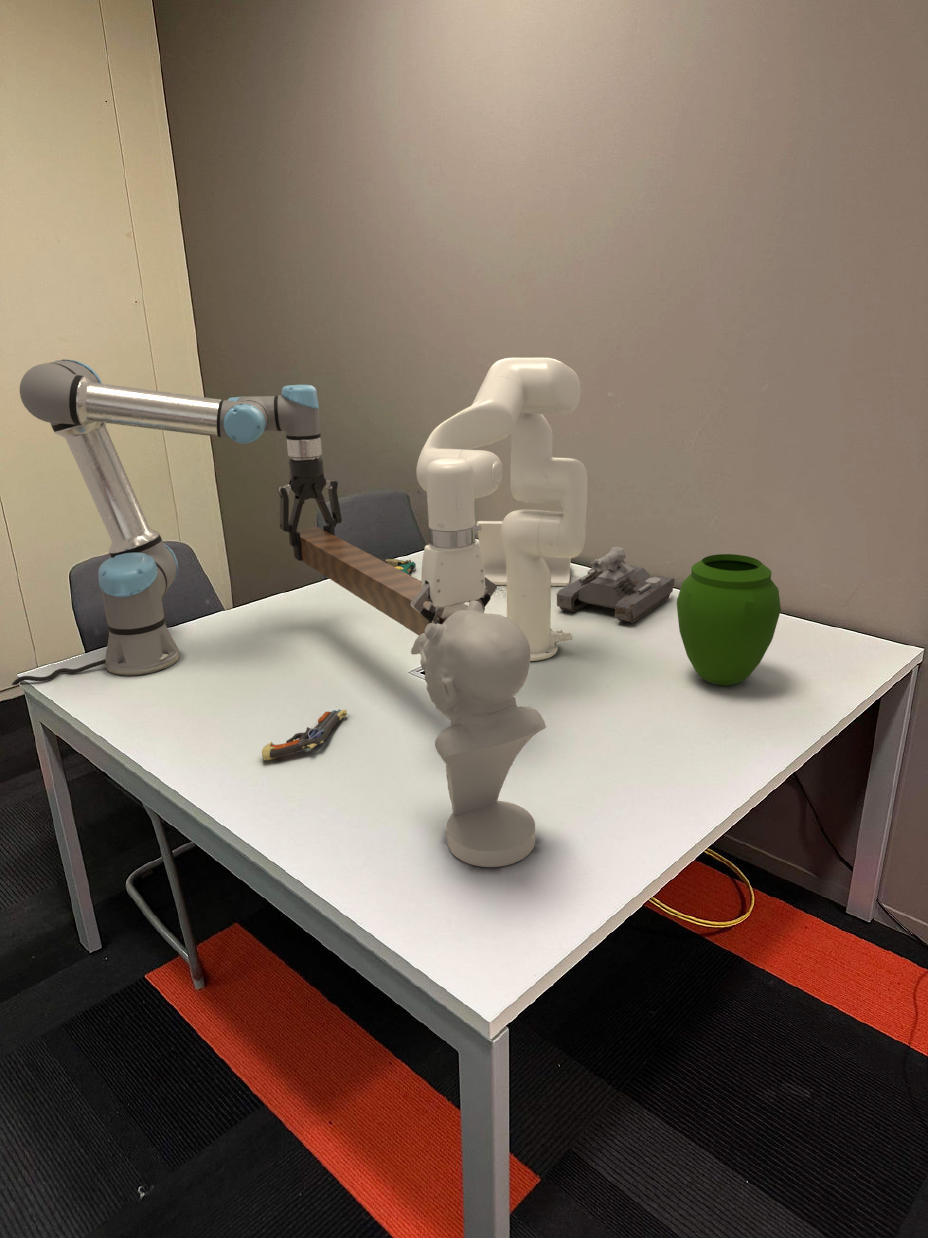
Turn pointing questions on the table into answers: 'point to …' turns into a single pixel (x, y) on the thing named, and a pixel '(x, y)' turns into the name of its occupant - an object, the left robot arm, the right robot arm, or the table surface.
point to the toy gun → (305, 737)
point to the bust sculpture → (481, 729)
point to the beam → (367, 578)
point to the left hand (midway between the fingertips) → (314, 556)
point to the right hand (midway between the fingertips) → (456, 637)
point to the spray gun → (401, 564)
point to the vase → (727, 616)
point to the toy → (616, 588)
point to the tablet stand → (496, 558)
